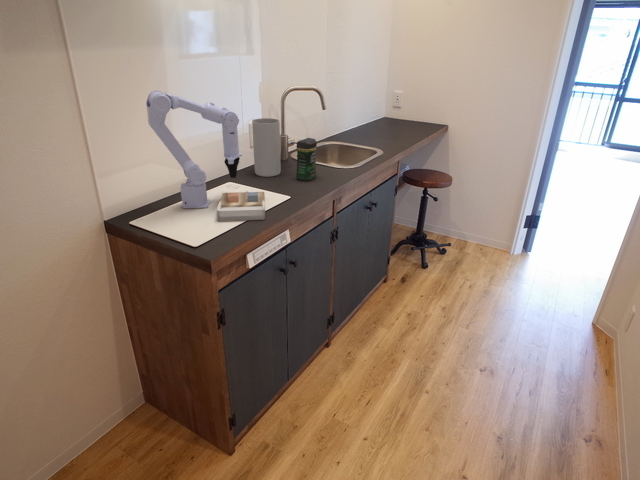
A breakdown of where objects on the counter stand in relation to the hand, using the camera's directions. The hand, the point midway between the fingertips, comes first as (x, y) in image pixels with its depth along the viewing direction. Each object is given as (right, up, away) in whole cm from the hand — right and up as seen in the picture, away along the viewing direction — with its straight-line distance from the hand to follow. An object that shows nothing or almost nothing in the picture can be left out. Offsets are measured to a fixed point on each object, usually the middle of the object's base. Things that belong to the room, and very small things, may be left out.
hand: (233, 176), depth 167 cm
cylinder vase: (+9, +7, +36) cm, 38 cm away
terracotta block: (+1, -10, -4) cm, 11 cm away
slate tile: (+8, -10, -4) cm, 13 cm away
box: (+6, -16, -11) cm, 21 cm away
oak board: (+4, -11, -1) cm, 12 cm away
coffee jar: (+28, +4, +30) cm, 41 cm away
